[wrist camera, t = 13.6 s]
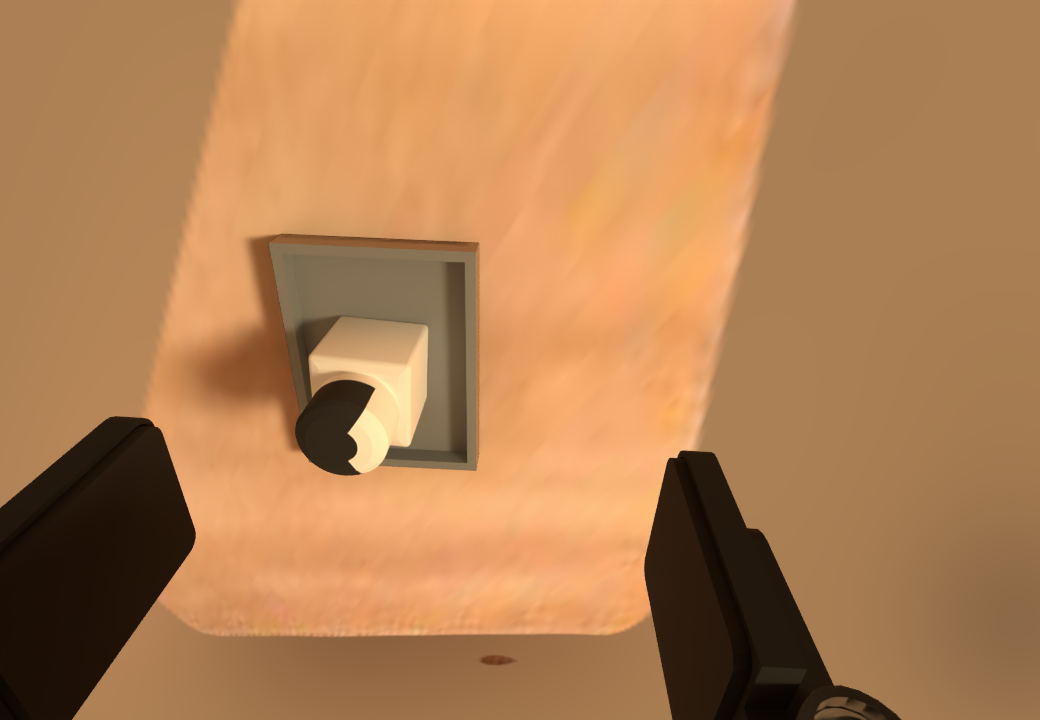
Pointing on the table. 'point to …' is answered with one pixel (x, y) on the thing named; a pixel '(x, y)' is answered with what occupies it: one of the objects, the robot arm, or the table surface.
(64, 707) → the robot arm
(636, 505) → the table surface
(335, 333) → the medicine bottle
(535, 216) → the table surface
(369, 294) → the gray tray
